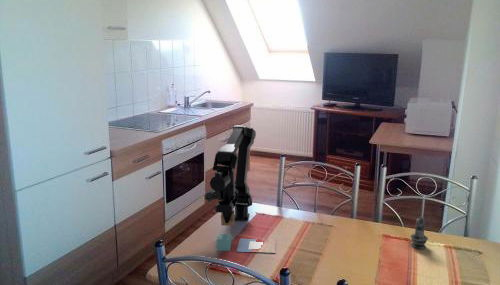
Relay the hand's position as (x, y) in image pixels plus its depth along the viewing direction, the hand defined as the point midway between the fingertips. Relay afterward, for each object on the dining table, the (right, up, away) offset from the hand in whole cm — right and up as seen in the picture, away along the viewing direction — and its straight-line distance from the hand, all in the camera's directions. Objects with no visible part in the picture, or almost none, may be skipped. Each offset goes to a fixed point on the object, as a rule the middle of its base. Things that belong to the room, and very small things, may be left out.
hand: (228, 220), depth 161 cm
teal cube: (-1, -9, -8) cm, 12 cm away
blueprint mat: (+11, -8, -7) cm, 16 cm away
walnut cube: (0, -1, 0) cm, 1 cm away
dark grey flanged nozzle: (+70, -8, -9) cm, 71 cm away
